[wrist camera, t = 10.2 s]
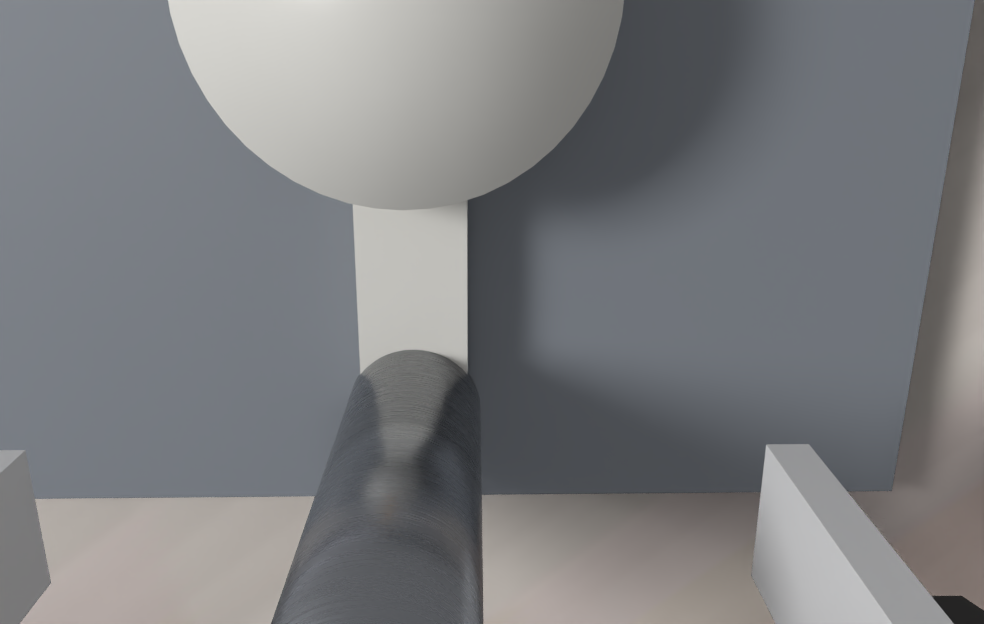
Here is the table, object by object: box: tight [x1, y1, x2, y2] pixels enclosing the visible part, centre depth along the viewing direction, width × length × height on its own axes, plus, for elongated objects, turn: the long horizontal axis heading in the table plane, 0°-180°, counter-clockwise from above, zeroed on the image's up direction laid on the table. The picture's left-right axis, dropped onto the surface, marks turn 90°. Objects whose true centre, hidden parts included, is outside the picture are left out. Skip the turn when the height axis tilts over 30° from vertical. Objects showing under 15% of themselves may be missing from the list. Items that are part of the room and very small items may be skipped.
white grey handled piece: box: [168, 0, 624, 624], centre depth 13 cm, size 20×8×11 cm, turn 0°
